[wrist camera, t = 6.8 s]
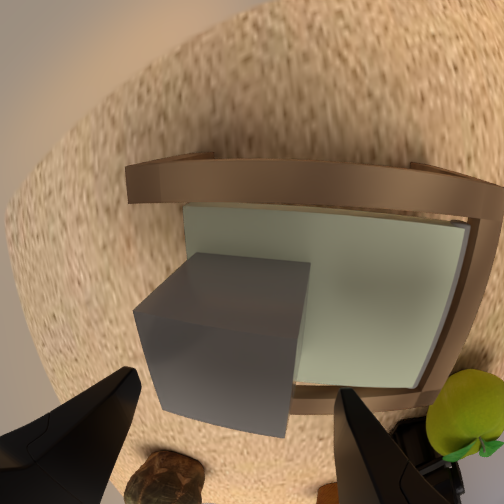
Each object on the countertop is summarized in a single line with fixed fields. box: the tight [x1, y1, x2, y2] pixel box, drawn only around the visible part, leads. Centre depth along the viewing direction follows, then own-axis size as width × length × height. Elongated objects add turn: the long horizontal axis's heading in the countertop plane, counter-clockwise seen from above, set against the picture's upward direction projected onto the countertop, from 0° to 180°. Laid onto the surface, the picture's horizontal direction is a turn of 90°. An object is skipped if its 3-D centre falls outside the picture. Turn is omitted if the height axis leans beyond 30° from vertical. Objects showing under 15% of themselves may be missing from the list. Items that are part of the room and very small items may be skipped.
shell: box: [124, 451, 205, 504], centre depth 29 cm, size 11×11×12 cm
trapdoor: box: [183, 202, 471, 389], centre depth 13 cm, size 12×9×1 cm
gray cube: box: [133, 252, 311, 438], centre depth 11 cm, size 5×5×5 cm
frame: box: [125, 152, 504, 415], centre depth 16 cm, size 16×13×8 cm
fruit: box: [426, 369, 504, 462], centre depth 18 cm, size 9×9×10 cm
